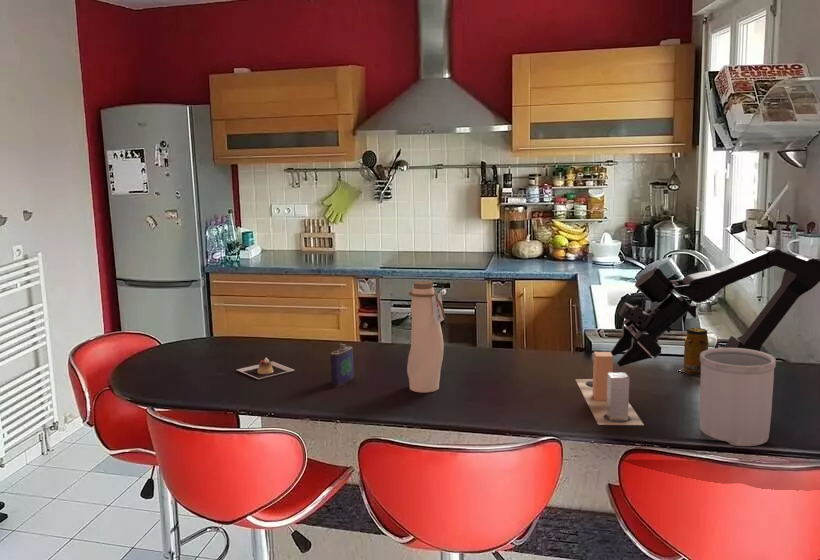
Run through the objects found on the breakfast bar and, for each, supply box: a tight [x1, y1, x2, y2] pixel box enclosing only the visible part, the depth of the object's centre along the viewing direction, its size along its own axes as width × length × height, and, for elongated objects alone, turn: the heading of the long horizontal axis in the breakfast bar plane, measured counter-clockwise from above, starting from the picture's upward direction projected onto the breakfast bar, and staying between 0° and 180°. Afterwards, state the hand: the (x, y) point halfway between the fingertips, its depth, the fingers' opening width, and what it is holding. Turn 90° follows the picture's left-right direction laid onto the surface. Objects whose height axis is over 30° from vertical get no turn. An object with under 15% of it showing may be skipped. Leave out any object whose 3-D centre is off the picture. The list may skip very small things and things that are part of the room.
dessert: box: [236, 357, 295, 381], centre depth 211 cm, size 12×12×5 cm
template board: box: [575, 378, 644, 426], centre depth 181 cm, size 33×10×1 cm, turn 176°
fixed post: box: [606, 372, 630, 421], centre depth 168 cm, size 4×4×10 cm
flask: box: [329, 343, 355, 388], centre depth 199 cm, size 9×3×11 cm, turn 152°
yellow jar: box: [678, 327, 709, 378], centre depth 204 cm, size 7×8×12 cm
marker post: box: [592, 351, 614, 400], centre depth 182 cm, size 4×4×11 cm
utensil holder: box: [699, 347, 777, 447], centre depth 159 cm, size 15×15×18 cm
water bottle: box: [406, 280, 446, 394], centre depth 192 cm, size 10×9×28 cm
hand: (615, 359), depth 181 cm, fingers open, 9 cm apart
